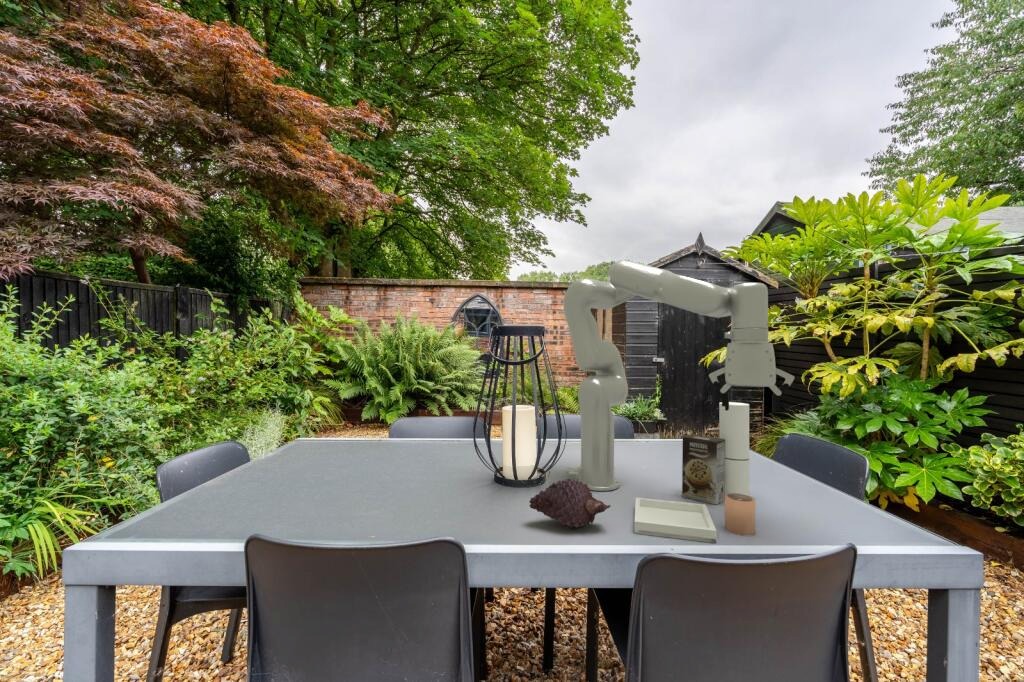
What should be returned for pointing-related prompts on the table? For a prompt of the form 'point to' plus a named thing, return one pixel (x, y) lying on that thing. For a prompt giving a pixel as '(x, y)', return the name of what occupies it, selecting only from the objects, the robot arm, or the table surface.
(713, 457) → the coffee box
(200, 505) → the table surface
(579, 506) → the pine cone
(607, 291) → the robot arm
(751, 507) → the cup
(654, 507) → the tray
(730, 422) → the cylindrical container
